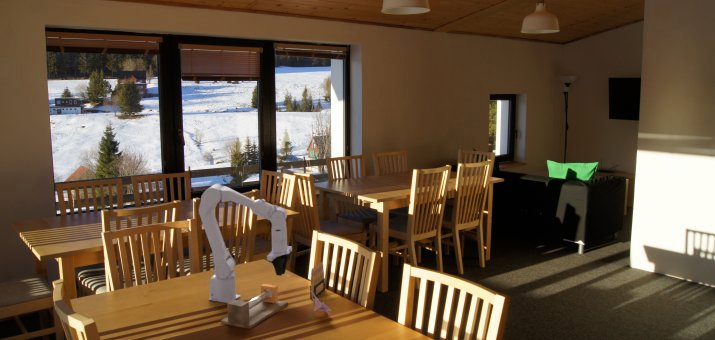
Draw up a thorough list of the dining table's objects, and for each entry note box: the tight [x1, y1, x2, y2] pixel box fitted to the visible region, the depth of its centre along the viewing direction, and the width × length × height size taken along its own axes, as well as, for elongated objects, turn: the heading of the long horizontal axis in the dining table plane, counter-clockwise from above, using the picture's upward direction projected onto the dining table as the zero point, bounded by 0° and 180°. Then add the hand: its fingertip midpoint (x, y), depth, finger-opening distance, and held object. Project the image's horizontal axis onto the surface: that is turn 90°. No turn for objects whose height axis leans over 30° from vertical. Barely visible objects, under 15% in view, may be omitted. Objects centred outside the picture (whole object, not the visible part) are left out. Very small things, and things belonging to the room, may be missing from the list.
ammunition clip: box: [309, 261, 326, 300], centre depth 231 cm, size 11×2×12 cm, turn 160°
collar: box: [260, 283, 279, 303], centre depth 221 cm, size 6×2×6 cm, turn 65°
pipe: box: [247, 290, 272, 309], centre depth 213 cm, size 3×18×3 cm, turn 155°
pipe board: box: [220, 299, 289, 330], centre depth 213 cm, size 12×24×8 cm, turn 155°
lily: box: [309, 290, 333, 321], centre depth 208 cm, size 12×12×10 cm
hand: (280, 274), depth 227 cm, fingers closed
